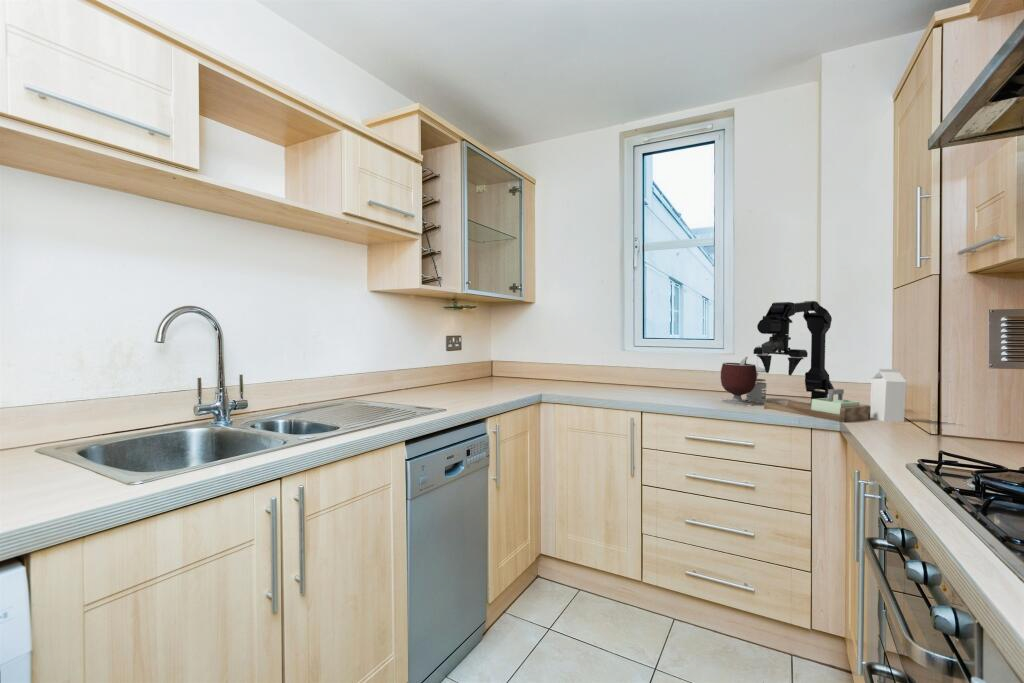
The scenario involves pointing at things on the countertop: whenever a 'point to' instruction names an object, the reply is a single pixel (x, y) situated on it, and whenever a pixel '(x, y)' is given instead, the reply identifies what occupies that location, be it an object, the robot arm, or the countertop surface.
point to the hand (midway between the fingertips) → (778, 374)
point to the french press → (757, 388)
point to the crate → (833, 402)
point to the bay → (805, 409)
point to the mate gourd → (738, 380)
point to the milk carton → (888, 396)
